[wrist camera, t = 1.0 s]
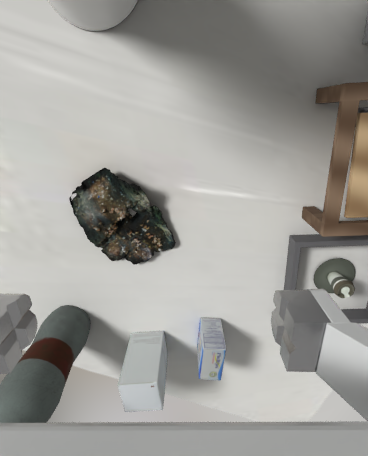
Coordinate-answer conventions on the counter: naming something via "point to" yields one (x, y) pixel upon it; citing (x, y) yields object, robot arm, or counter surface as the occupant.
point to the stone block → (366, 32)
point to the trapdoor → (359, 170)
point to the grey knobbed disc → (336, 277)
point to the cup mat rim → (320, 241)
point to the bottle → (44, 368)
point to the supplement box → (144, 372)
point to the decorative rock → (120, 218)
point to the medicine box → (211, 349)
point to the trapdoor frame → (339, 162)
